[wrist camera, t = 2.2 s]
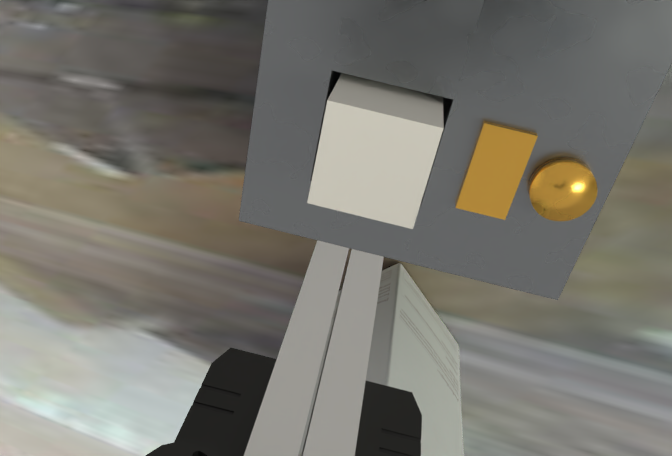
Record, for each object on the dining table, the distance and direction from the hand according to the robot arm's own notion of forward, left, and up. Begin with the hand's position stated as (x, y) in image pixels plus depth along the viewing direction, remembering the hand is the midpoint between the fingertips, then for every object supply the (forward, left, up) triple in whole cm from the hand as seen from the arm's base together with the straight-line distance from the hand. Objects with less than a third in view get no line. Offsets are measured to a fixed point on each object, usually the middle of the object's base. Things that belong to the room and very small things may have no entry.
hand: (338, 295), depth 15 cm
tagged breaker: (0, 0, -13) cm, 13 cm away
